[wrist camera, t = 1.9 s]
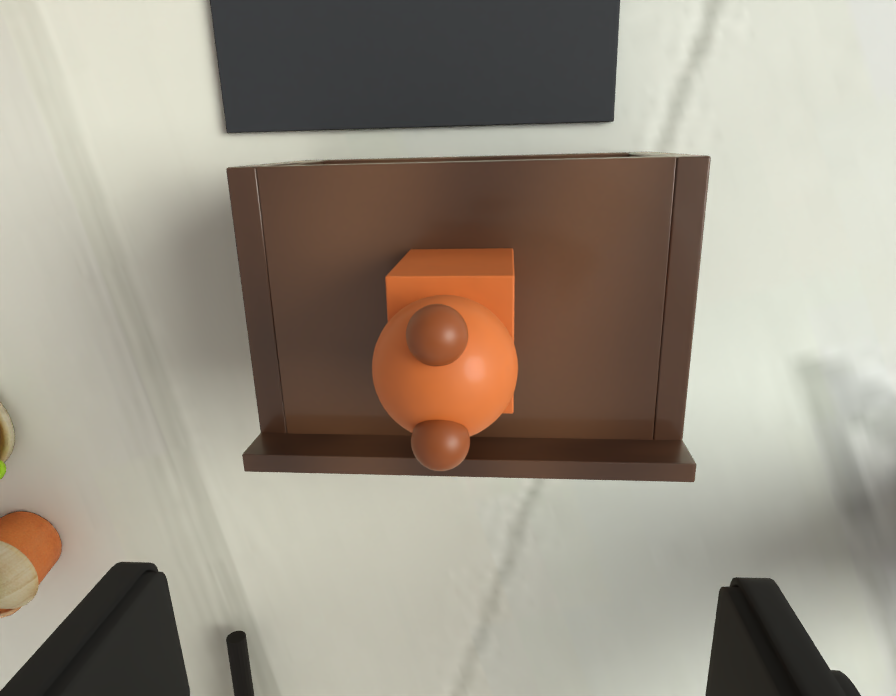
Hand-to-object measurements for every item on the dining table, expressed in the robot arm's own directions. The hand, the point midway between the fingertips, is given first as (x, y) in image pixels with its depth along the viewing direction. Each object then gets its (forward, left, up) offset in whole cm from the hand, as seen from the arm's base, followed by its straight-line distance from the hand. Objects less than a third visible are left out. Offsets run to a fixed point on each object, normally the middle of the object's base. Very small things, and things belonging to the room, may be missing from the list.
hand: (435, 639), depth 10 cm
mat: (+4, -14, -26) cm, 29 cm away
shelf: (+1, -1, -26) cm, 26 cm away
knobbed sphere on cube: (+1, -2, -16) cm, 16 cm away
